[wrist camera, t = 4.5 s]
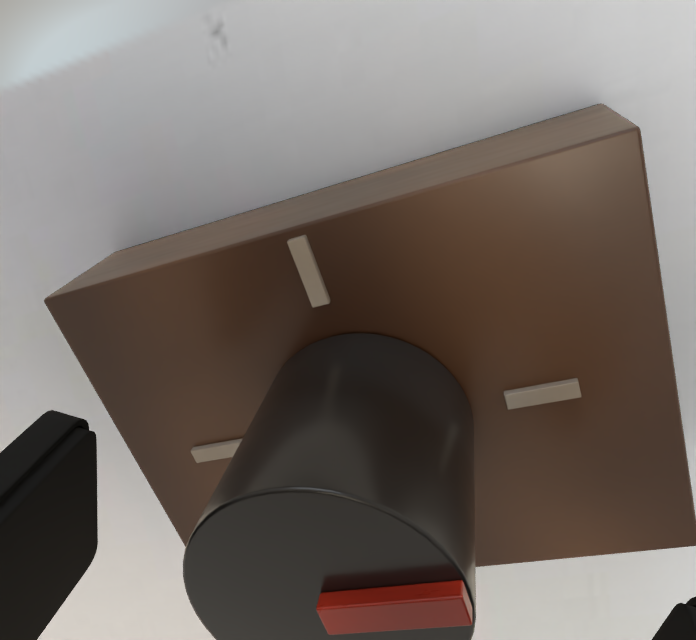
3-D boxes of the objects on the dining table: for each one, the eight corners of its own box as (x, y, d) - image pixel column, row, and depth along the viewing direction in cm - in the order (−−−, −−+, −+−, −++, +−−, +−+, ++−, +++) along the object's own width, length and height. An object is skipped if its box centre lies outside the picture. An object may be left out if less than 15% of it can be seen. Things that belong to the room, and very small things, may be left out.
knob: (309, 514, 14) (242, 721, 10) (237, 356, 13) (120, 526, 8) (495, 488, 13) (508, 716, 9) (442, 309, 11) (425, 483, 7)
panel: (247, 513, 19) (208, 598, 16) (113, 251, 16) (37, 303, 13) (661, 455, 15) (703, 552, 13) (603, 101, 12) (643, 127, 9)
